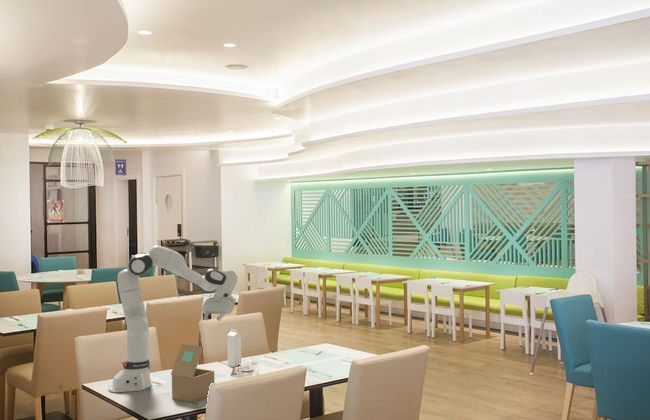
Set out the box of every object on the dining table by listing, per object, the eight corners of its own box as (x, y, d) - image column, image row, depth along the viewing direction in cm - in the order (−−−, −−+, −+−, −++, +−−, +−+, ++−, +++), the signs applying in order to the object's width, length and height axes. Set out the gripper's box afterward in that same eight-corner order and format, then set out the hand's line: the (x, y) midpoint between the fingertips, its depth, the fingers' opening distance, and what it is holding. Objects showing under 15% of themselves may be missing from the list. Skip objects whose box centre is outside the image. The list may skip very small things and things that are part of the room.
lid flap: (192, 378, 319) (191, 377, 319) (171, 374, 327) (170, 374, 326) (203, 346, 326) (202, 346, 325) (182, 344, 333) (181, 343, 333)
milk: (234, 364, 398) (234, 328, 398) (241, 365, 394) (241, 329, 395) (227, 366, 393) (226, 329, 393) (234, 367, 390) (234, 330, 390)
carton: (193, 402, 319) (192, 378, 319) (172, 398, 327) (171, 374, 327) (214, 394, 333) (214, 370, 333) (194, 390, 340) (193, 367, 340)
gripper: (204, 294, 357) (194, 316, 350) (232, 294, 346) (222, 317, 338) (211, 300, 361) (201, 322, 353) (238, 300, 350) (229, 323, 342)
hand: (211, 320), depth 346 cm, fingers open, 8 cm apart
